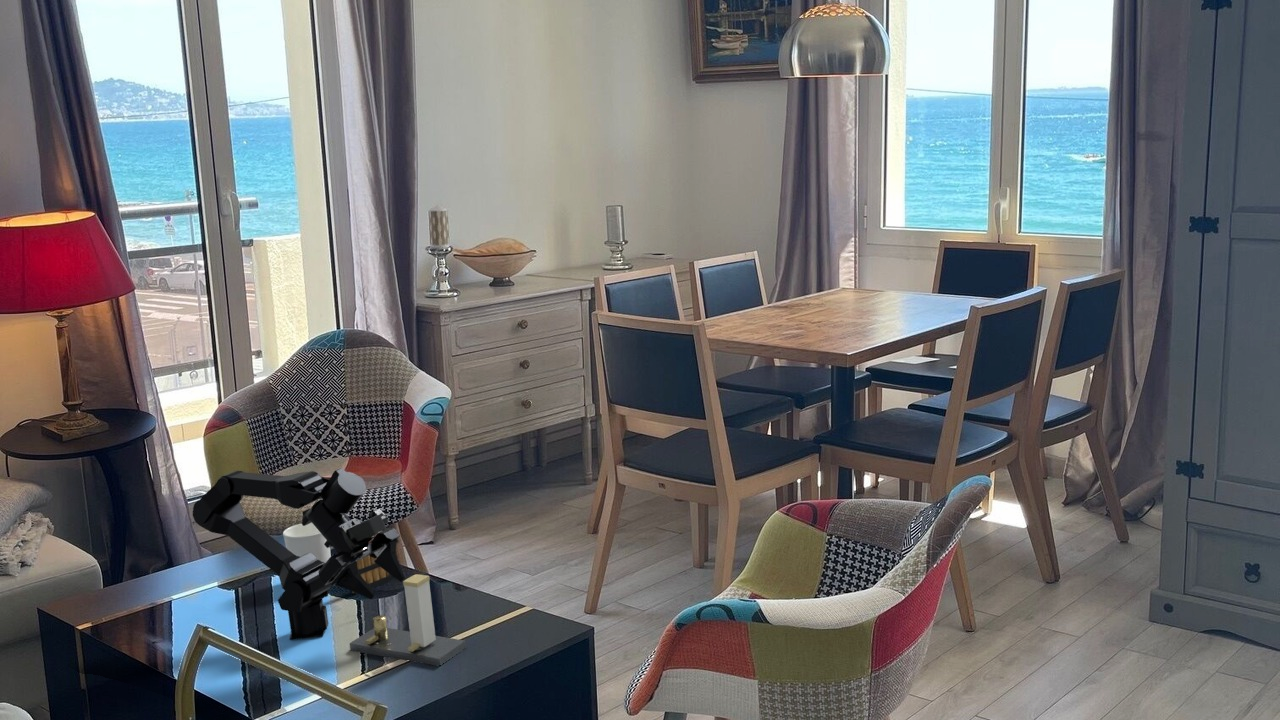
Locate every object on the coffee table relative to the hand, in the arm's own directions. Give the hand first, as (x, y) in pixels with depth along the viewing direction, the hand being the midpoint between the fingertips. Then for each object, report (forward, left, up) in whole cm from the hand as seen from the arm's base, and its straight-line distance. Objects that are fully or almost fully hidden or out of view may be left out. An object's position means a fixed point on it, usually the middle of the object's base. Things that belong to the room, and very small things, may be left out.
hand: (388, 588), depth 223 cm
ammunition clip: (-8, +33, -12) cm, 36 cm away
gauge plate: (+3, -2, -12) cm, 12 cm away
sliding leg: (+5, -5, -10) cm, 12 cm away
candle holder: (-22, +40, -12) cm, 48 cm away
